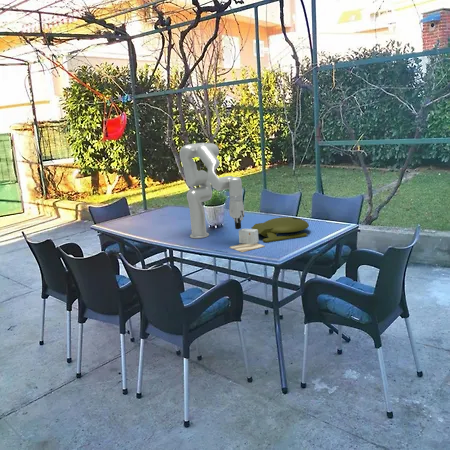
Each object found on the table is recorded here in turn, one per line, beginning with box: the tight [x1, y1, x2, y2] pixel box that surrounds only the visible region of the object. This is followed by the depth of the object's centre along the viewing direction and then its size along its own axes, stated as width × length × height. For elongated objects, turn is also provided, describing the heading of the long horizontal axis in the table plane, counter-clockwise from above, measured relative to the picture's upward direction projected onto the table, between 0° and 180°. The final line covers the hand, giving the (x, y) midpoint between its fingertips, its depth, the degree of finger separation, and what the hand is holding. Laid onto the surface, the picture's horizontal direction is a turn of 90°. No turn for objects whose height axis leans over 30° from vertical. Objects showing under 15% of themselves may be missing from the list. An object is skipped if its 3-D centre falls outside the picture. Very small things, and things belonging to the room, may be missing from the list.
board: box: [228, 242, 266, 253], centre depth 277 cm, size 14×16×1 cm
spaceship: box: [251, 216, 310, 243], centre depth 301 cm, size 35×31×10 cm
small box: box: [238, 228, 260, 244], centre depth 284 cm, size 8×6×10 cm
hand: (238, 228), depth 282 cm, fingers closed
